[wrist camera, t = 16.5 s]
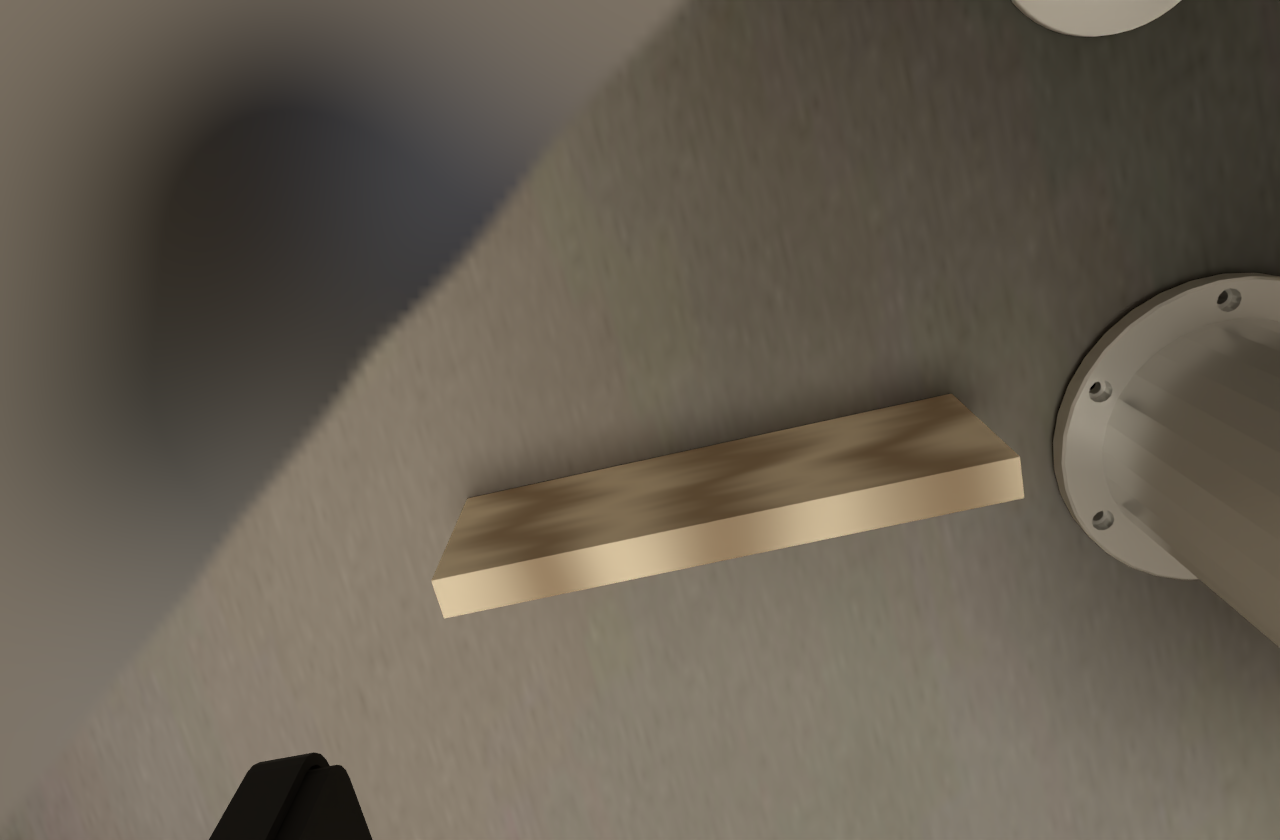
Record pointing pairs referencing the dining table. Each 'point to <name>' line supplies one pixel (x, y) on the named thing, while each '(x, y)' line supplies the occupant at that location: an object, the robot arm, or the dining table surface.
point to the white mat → (1093, 15)
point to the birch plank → (724, 503)
